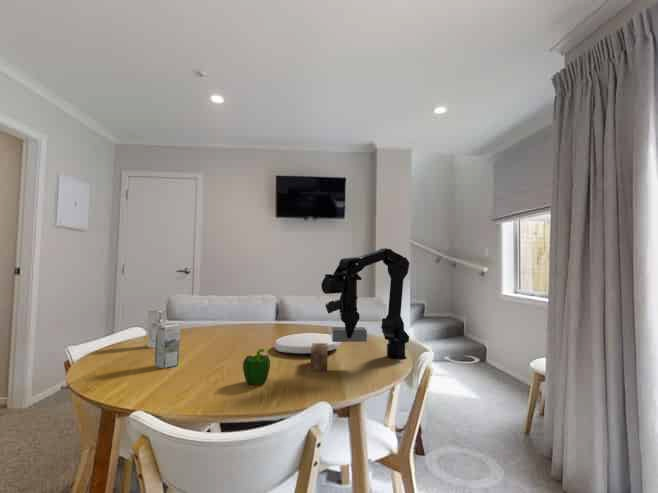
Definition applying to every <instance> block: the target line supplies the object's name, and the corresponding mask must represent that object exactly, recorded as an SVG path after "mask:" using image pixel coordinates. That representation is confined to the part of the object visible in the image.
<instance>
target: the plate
mask: <svg viewBox="0 0 658 493" xmlns="http://www.w3.org/2000/svg"><path fill="white" fill-rule="evenodd" d="M312 343H328V352H329V351H332V350H335V349H337V348H339V347H340V346H341V343H342V342H332V339H331V334H326V333H318V332H317V333H316V332H315V333H314V332H312V333H311V332H305V333H303V332H302V333H294V334H289V335H285V336H281V337H279V338H278V339H276V340H275V341H274V349H275V350H276V351H277V352H280V353H288V354H311V348H312Z"/></svg>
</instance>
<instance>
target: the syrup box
mask: <svg viewBox="0 0 658 493" xmlns="http://www.w3.org/2000/svg"><path fill="white" fill-rule="evenodd" d="M180 336H181V325H179V324H178V323H174V322H173V323H172V322H171V323H165V324H163V325H157V329H156V348H155V354H154V355H155V356H154V367H156V368H159V369H162V370H165V369H170V368H173V367H177V366H179V358H180V357H179V356H180V342H181V341H180V339H181V338H180Z"/></svg>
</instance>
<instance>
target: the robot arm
mask: <svg viewBox="0 0 658 493" xmlns="http://www.w3.org/2000/svg"><path fill="white" fill-rule="evenodd" d="M381 261H382V263H383V265H386V267H387V273H388V276H389V278H390V284H389V296H388V297H389V298H388V310H387V315H386V317H383V318H382V319H381V327H380V329H381V332H382V334H383V337H384V340H385V341H387V344H386V355H387V356H388V358H389V359H407V356H406V343H409V342H410V335H409V334H408V333H407V332H406V331H405V323H404V320H403V318H402V316H401V315H402V314H401V313H402V303H403V302H402V301H403V290H404V289H403V288H404V287H403V286H404V281H405V280H404V279H405V278H406V276H407V275H408V273H409V268H410V261H409V260H408V258H407V257H406V256H405V257H404V256H403V255H401V254H400V253H397V252H395V251H393V249H391V248H389V247H388V248H380V249H378V250H375V251H372V252H369V253H366V254H363V255H360V256H352V257H343V258H341V259H340V260H339V262H338V265H337V268H336V269H335V270H334V272H333V273H332V274H330V273H329V274H328V273H327V274H326V273H325V274H324V278H323V279H322V282H321V291H322V292H323V293H324V294H325V295H330V294H332V295H333V294H334V295H335V294H340V295H339V299H336V300H331V301H328V302H327V303H325V304H324V305H325V309H326V312H327V314H328V315H329V314H332V313H333V312H335V311H339V315H340V321H341V322H342V323H344V327H346V332H347V338H351V336H352V334H353V332H354V329H355V327H357V324H358V322H359V321H360V313H359V312H358V307H357V306H358V281H362V280H363V278H362V277H361V276H360V275H359V273H360V272H361V271H363V270H364V268H365V267H367V266H368V267H369V266H370V265H373V264H376V263H379V262H381Z"/></svg>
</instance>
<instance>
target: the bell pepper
mask: <svg viewBox="0 0 658 493" xmlns="http://www.w3.org/2000/svg"><path fill="white" fill-rule="evenodd" d="M261 352H262V353H263V352H265V349H264V348H260V349H258V350H257V352H256V355H255V354H254V355H246V357H245V358H244V360H243V362H242V371H243V376H244V380H245V381H246V383H247V384H249V385H254V386H261V385H264V384H265V383H266V381H267V380H268V376H269V372H270V368H271V359H270V357H269V355H268V354H262V353H261Z"/></svg>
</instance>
